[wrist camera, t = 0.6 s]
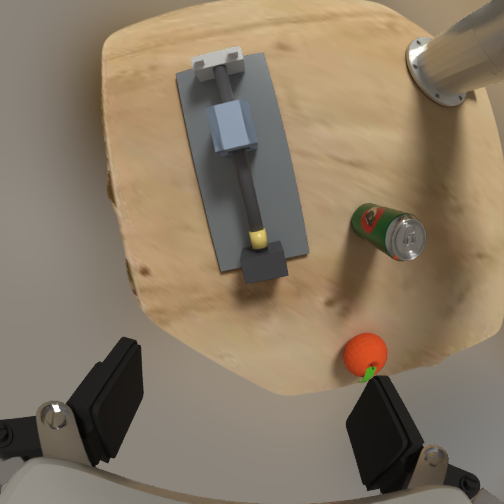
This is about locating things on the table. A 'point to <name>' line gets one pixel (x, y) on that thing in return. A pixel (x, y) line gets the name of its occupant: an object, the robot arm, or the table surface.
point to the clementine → (365, 355)
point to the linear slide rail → (244, 167)
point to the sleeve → (232, 127)
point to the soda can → (390, 231)
